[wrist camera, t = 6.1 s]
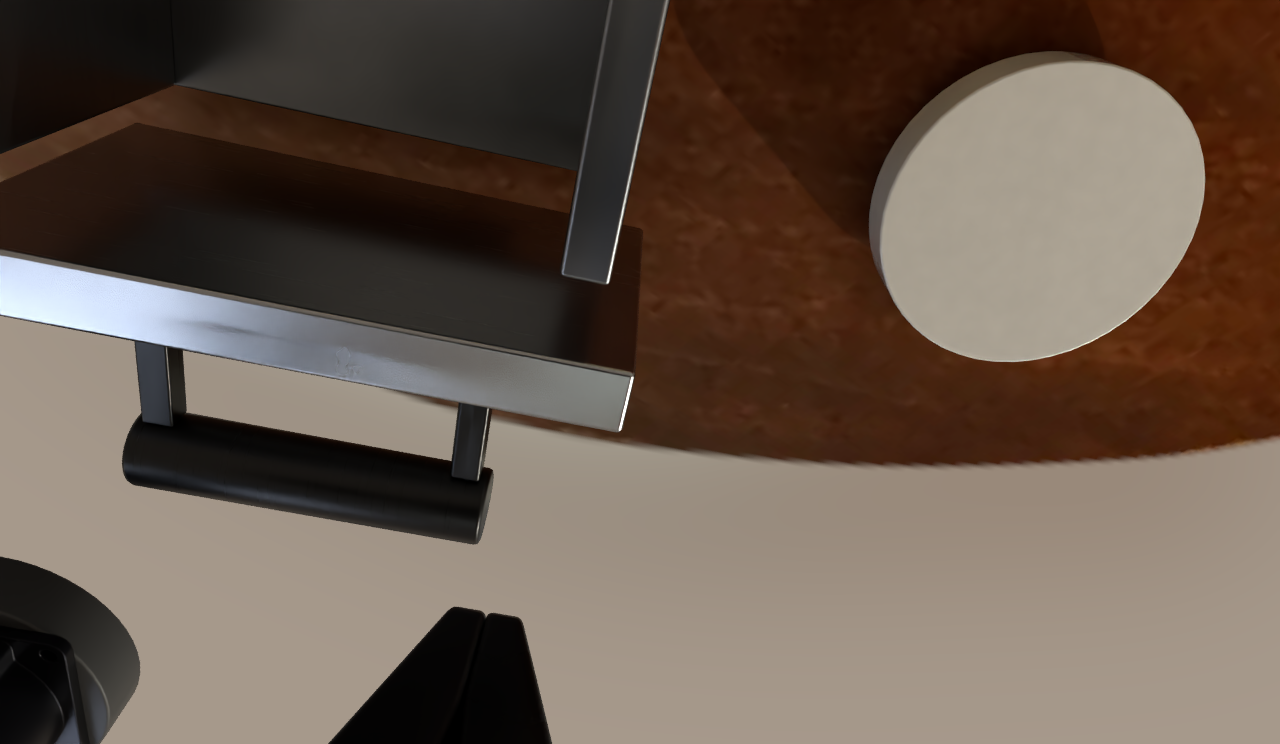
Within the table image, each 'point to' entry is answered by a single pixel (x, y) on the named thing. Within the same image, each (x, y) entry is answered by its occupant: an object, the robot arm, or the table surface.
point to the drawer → (335, 228)
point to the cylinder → (1036, 205)
